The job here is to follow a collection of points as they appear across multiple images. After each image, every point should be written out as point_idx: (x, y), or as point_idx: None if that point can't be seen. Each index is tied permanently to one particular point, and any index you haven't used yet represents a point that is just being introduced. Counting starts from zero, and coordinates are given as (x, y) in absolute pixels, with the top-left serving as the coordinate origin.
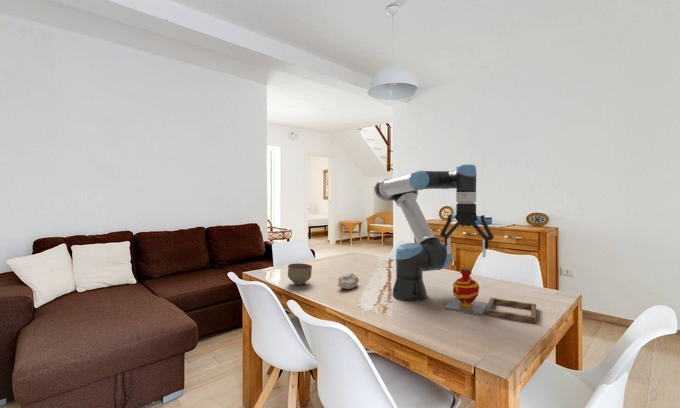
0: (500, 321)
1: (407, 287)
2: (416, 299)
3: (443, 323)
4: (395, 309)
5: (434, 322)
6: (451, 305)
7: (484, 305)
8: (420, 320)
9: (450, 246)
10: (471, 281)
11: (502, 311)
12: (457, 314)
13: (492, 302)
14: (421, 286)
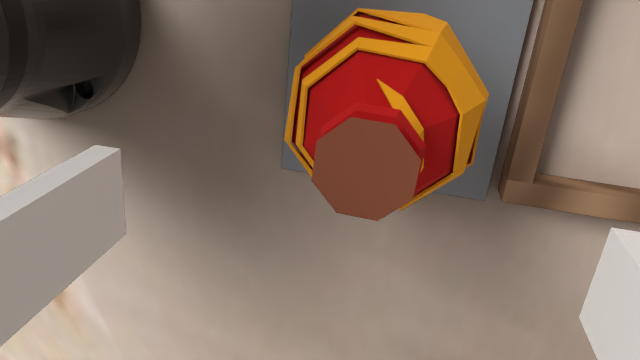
0: (571, 253)
1: (12, 116)
2: (108, 95)
3: (310, 340)
4: None
5: (274, 339)
6: None
7: (510, 47)
8: (218, 334)
9: (54, 199)
10: (424, 172)
11: (606, 199)
12: (356, 224)
13: (571, 39)
14: (74, 56)
